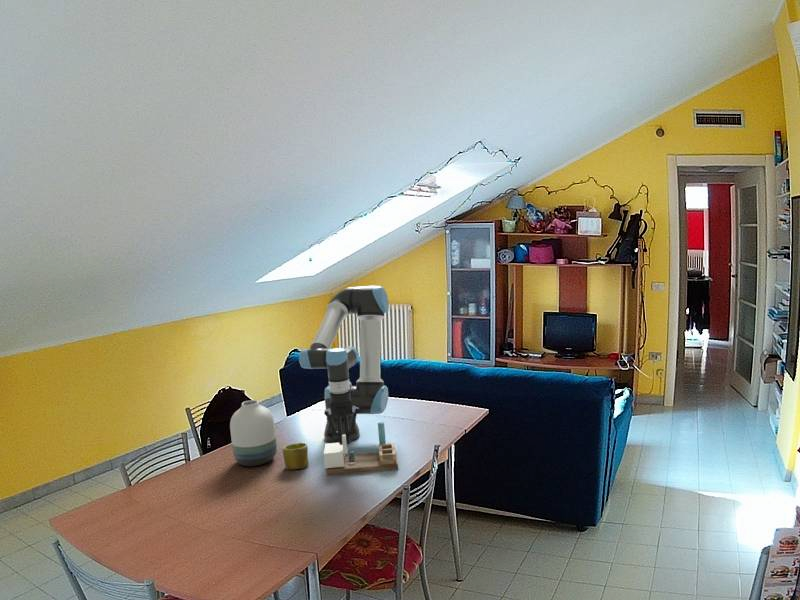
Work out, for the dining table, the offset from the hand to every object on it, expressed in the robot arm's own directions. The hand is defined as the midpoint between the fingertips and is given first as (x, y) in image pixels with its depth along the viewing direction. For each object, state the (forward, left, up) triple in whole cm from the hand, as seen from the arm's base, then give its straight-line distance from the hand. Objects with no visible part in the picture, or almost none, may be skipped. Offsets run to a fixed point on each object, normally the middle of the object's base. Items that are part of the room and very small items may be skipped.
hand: (345, 452), depth 228 cm
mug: (-9, -19, -7) cm, 22 cm away
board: (-2, +6, -7) cm, 9 cm away
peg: (-13, +14, -7) cm, 20 cm away
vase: (-16, -36, -7) cm, 40 cm away
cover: (-2, -4, -4) cm, 6 cm away
